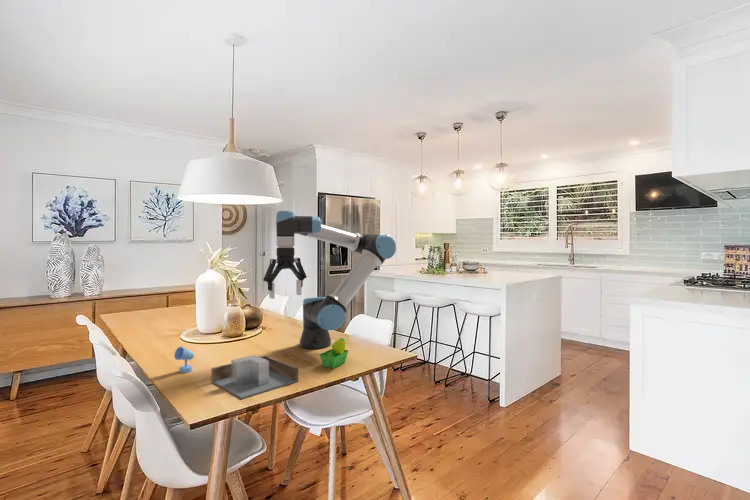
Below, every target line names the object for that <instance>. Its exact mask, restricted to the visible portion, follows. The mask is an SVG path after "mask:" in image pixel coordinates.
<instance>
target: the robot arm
mask: <svg viewBox="0 0 750 500" xmlns="http://www.w3.org/2000/svg"><path fill="white" fill-rule="evenodd" d="M275 217H276V218H275V224H276V226H275V229H276V259H275V258H270V259H269V265H268V267H267V270H266V272H265V274H264V277H263V282H266V283H267V291H269V292H268V293H269V295H268V297H269V299H276V298H275V282H274V281H275V279H276V278H277V276H278V275H279V273H281V271H282V270H286V269H287V270H288V269H290V270H291V271H292V273H293V274H294V275H295V277H296V278H297V279H296V284H295V286H296V288H295V289H296V290H295V291H296V292H295V293H296V295H298V296H302V288H303V287H304V286H303V281H304V280H305V279H306V278H307V277H308V276H307V275H306V271H305V270H304V267H303V265H302V262H301V261H302V260H301V258H300V257H295V246H296V245H295V235H301V236H304V237H308V238H312V239H315V240H319V241H323V242H325V243H329V244H333V245H336V246H341V247H344V248H348V249H349V250H350V251H351V252H355V253H358V254H359V255H361V256H360V258H359V259H358V260H357V262H356V263H355V264H354V265H353V267H352V268H351V269H350V271H348V274H346V275H345V278H343V280H342V281H341V282H340V284H339V285H338V286H337V288H336V289H335V290H334V291H333V293H330V294H327V295H326V296H318V297H316V296H315V297H307V298H303V302H302V303H303V304H302V323H303V324H302V326H303V329H302V333H301V336H300V338H299V346H300V347H301V348H304V349H310V350H311V349H312V350H314V349H324V348H328V347H329V346H332V337H331V336H330V332H329V331H335V330H337V329H339V328H340V327H342V325H343V324H344V323H345V319H346V317H345V316H346V313H347V311H348V304H349V303H350V302H351V301H352V299H353V298H354V297H355V296H356V294H357V293H358V292H359V290H360V289H361V287H362V286H363V285H364V283H366V281H367V280H368V278H369V277H370V276H371V274H372V272H373V271H374V270H375V269H376V267H379V266H382V264H384V262H385V261H386V260H389V259H391V258H393V256H394V255H395V254H396V251H397V246H396V240H395V239H394V238H393V237H392V236H391V235H389V234H386V233H380V234H379V233H378V234H377V233H376V234H375V233H374V234H373V233H371V234H368V233H367V234H365V233H360V232H354V233H352V232H349V231H345V230H342V229H339V228H336V227H332V226H329V225H326V224H322V221H321V218H320V217H319V216H314V215H309V216H308V215H295V212H294V211H293V210H278V211H277V212H276V216H275Z"/></svg>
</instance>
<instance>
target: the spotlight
mask: <svg viewBox="0 0 750 500" xmlns="http://www.w3.org/2000/svg"><path fill="white" fill-rule="evenodd" d="M194 356H195V353H194V352H193V351H192V350H189V349H187V348H185V347H183V346H178V347H177V348H176V349H175V352H174V359H175V360H177V361H180V360H182V361H184V365H181V366H179V373H181V374H186V373H191V372H192V371H193V365H192V364H188V361H190V360H193V359H194Z"/></svg>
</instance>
